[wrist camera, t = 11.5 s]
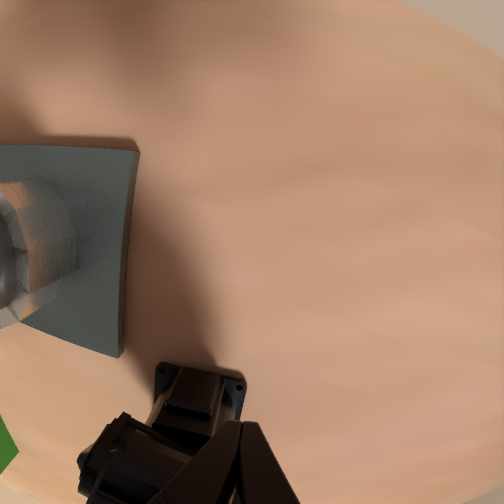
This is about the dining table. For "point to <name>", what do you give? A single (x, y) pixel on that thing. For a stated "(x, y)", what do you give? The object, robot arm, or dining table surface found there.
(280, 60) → the dining table surface
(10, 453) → the hardback book
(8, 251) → the dark grey rounded lump
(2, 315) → the square base plate
